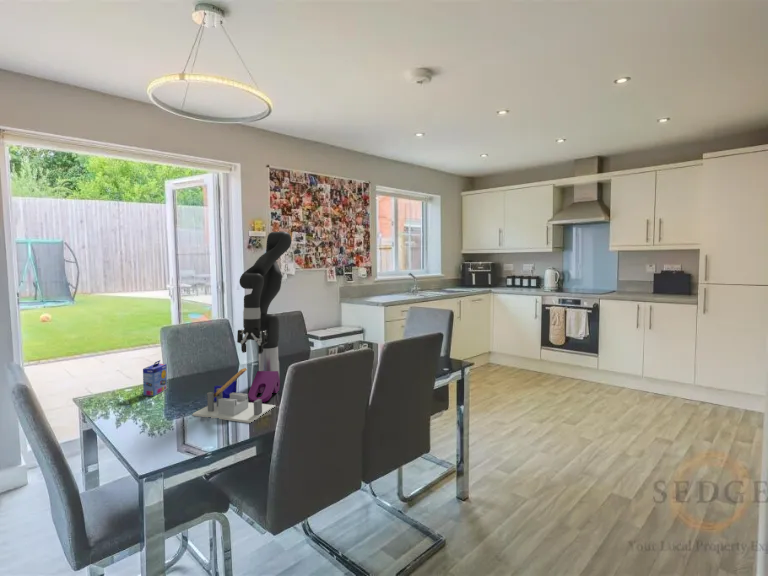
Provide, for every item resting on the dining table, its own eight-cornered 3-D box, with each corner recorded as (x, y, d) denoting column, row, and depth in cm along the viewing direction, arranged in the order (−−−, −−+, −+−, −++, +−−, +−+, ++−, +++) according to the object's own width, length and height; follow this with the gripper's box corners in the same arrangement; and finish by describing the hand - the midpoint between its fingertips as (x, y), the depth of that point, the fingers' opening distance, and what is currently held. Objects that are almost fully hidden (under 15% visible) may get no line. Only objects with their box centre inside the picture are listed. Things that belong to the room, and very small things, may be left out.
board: (221, 401, 179) (220, 382, 178) (275, 407, 171) (275, 387, 171) (192, 415, 163) (191, 395, 162) (250, 423, 155) (250, 401, 155)
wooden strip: (212, 399, 166) (210, 396, 166) (217, 396, 169) (215, 393, 170) (242, 372, 161) (240, 369, 161) (247, 369, 164) (245, 367, 164)
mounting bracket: (270, 414, 179) (280, 385, 195) (267, 400, 175) (278, 371, 191) (248, 414, 179) (260, 385, 195) (245, 400, 175) (257, 371, 191)
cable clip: (227, 393, 188) (227, 380, 188) (236, 394, 187) (236, 380, 188) (210, 400, 177) (211, 386, 177) (220, 401, 176) (220, 386, 176)
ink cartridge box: (154, 396, 185) (153, 363, 184) (142, 396, 186) (141, 363, 185) (168, 389, 195) (166, 358, 194) (156, 389, 196) (155, 358, 195)
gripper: (270, 317, 193) (270, 352, 194) (243, 316, 197) (243, 350, 198) (260, 319, 186) (261, 355, 187) (233, 317, 190) (233, 353, 191)
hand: (252, 352), depth 192 cm, fingers open, 8 cm apart
